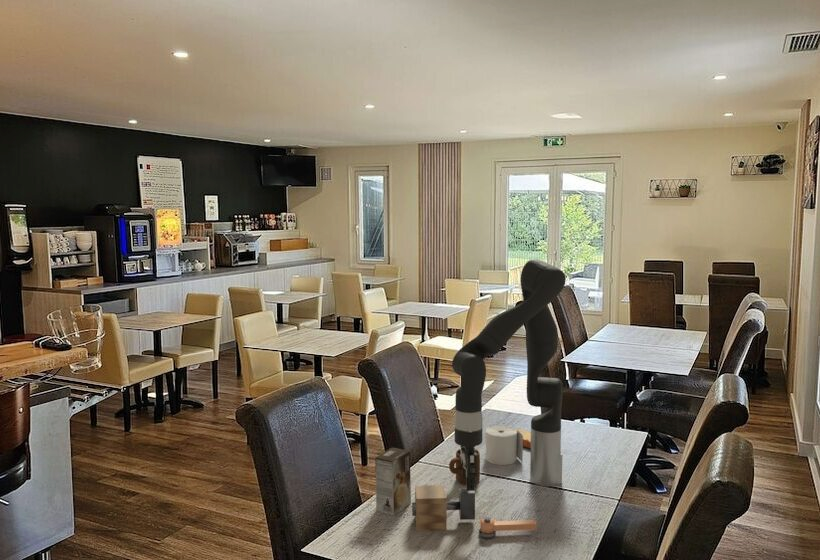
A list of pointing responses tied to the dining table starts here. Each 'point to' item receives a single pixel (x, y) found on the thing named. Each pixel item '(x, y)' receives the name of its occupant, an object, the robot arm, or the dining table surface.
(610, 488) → the dining table surface
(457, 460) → the mug
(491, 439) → the toilet tissue
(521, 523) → the latch bar
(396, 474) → the coffee box
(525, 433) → the slice of bread
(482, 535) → the dark grey puck
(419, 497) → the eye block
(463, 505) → the dark grey hammer
